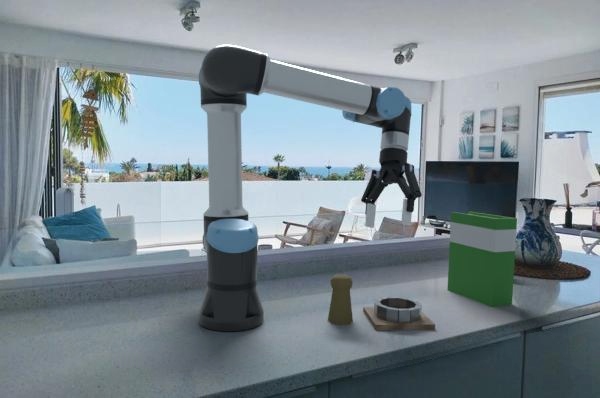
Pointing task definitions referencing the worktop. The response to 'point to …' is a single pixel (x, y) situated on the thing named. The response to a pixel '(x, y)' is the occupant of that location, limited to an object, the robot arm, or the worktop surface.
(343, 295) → the cork
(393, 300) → the steel collar
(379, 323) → the walnut board
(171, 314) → the worktop surface
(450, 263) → the cereal box
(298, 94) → the robot arm
